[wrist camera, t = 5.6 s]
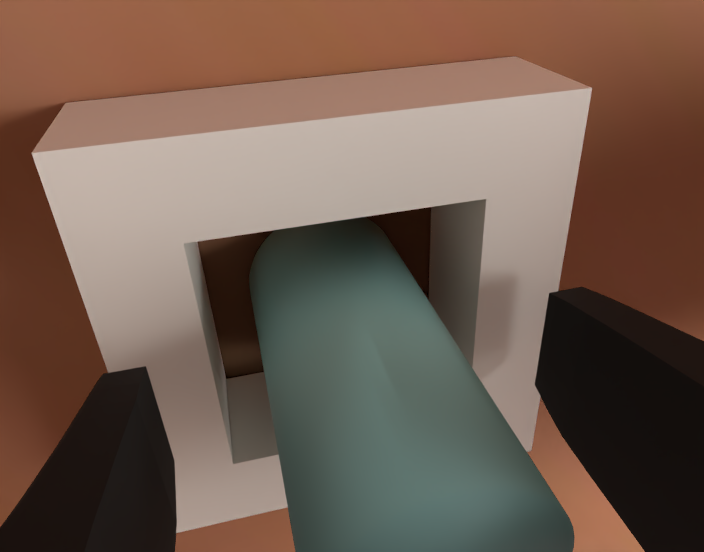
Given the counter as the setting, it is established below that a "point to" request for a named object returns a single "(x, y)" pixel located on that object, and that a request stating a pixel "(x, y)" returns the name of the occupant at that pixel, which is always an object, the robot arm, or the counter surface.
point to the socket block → (307, 209)
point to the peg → (385, 408)
